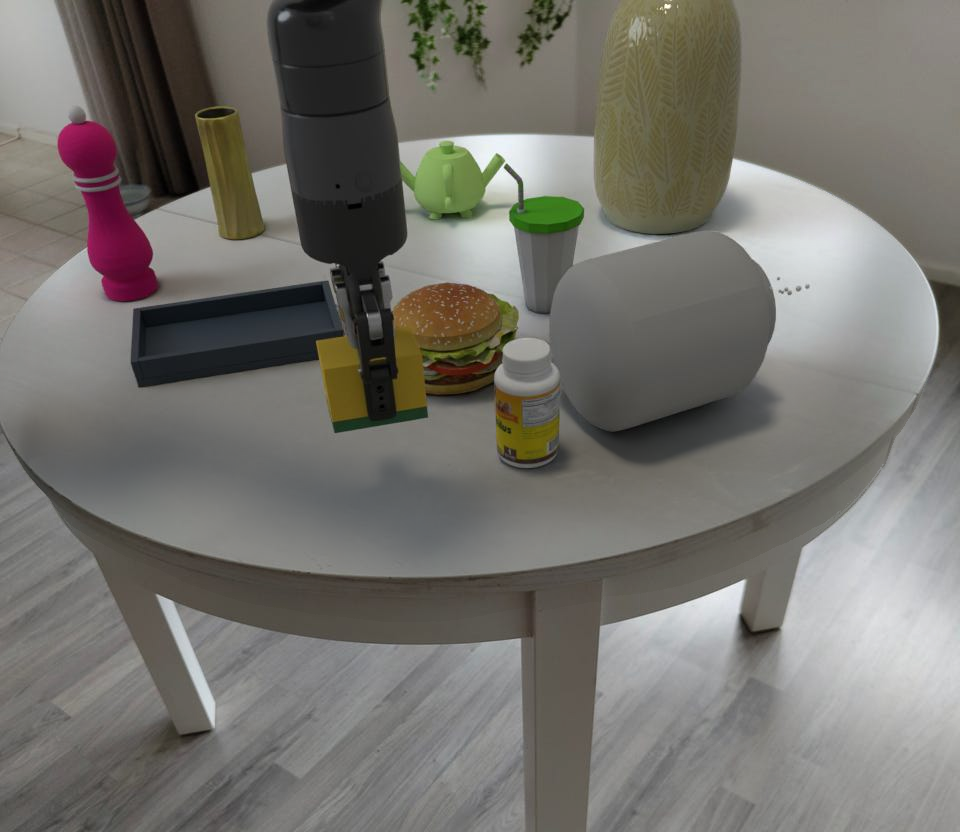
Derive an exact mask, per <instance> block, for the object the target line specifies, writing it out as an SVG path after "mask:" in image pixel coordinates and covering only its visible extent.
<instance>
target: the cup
mask: <svg viewBox="0 0 960 832" xmlns="http://www.w3.org/2000/svg"><path fill="white" fill-rule="evenodd" d="M503 169H504V170H505V171H506V172H507V173H508V174H509V175H510V176H511V177H512V178H513V179H514V180H515V181H516V183H517V184H516V185H517V202H516V203H514V204H513V205H512V206H511V208H510V210H509V211H508V220H509V222H510V223H511V225H512V226H513V227H514V228H513V230H514V236H515V243H516V250H517V255H518V256H517V257H518V262H519V270H520V276H521V281H522V282H521V283H522V287H523V296H524V303H525V307H526V308H527V309H528V310H529V311H531V312H533V313H535V314H544V315H545V314H546V315H547V314H550V312H551V306H552V301H553V297H554V293H555V290H556V288H557V285H558V283H559V282H560V280H561V279H562V277H563V276H564V275H565V273H566V272H567V271H568V269H569V268H571V267H572V266H574V261H575V253H576V249H577V240H578V235H579V228H580V225H581V224H582V222H583V220H584V218H585V207H584V206H583V205H582V204H581V203H580V202H579V201H578V200H575V199H571V198H568V197H564V196H551V195H549V196H548V195H543V196H535V197H530V198H524V197H525V195H524V191H525V190H524V181H523V179H522V177H521V176H520V175H519V174H518V173H517V172H516V171H515V169H513V167H511V165H509V163H507V162H505V163H504V166H503Z"/></svg>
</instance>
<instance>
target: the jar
mask: <svg viewBox="0 0 960 832" xmlns="http://www.w3.org/2000/svg"><path fill="white" fill-rule="evenodd" d="M776 280H777V281H780V280H781V277H780V276H777V277H776ZM804 288H805V289H806V290H807V289H810V288H811V286H810V284H809V283H806V284H805V286H804ZM795 291H796V292H801V291H802V286H801V285H797V286H796V287H795ZM785 292H787V293H786V294H787V295H788V296H791V295H793V291H792V290H791V289H789V287H787V286H785V288H784V290H782V289H778V293H779V294H782V295H784V294H785ZM776 321H777V307H776V297H775V293H774V289H773V286H772V284H771V281H770V279H769V277H768V275H767V273H766V272H765V270H764V268H762V266H761V265H760V264H759V263H758V262H757V261H756V260H755V259H753V258H752V256H750V254H749V252H748V251H746V248H744V247H743V246H742V245H741V244H739V242H737V241H736V240H735V239H734V238H731V237H730V236H728V235H726V234H724V233H722V232H720V231H715V230H699V231H694V232H690V233H687V234H682V235H679V236H675V237H674V236H673V237H671V238H670V237H669V238H666V239H663V240H658V241H655V242H652V243H651V242H650V243H647V244H643V245H639V246H635V247H631V248H627V249H624V250H619V251H615V252H612V253H608V254H604V255H600V256H596V257H593V258H588V259H585V260H582V261H580V262H577V263H575V264H573V266H572V267H571V268H569V269H568V271H567V272H566V273H565V275H564V276H563V277H562V279H561V280H560V282H559V283H558V285H557V288H556V290H555V293H554V297H553V301H552V306H551V312H550V313H549V322H548V324H549V325H548V327H549V328H548V329H549V331H548V332H549V343H550V352H551V356H552V361H553V364H554V365H555V366H556V367H557V368H558V370H559V373H560V386H561V387H562V389H563V391H564V394H565V395H566V397H567V399H568V400H569V402H570V403H571V405H572V406H573V407H574V408H575V410H576V411H577V412H578V413H579V414H580V416H581V417H582V418H583V419H584V420H585V421H587V422H588V423H589V424H590V425H592V426H594V427H596V428H598V429H600V430H603V431H606V432H619V431H624V430H628V429H631V428H635V427H636V426H638V427H639V426H641V425H644V424H647V423H650V422H653V421H657V420H659V419H663V418H666V417H669V416H672V415H675V414H679V413H681V412H685V411H687V410H688V411H689V410H692V409H694V408H698V407H701V406H704V405H706V404H711V403H713V402H716V401H719V400H722V399H726V398H729V397H732V396H734V395H736V394H738V393H739V392H741V391H743V390H744V389H745V388H747V387H748V386H749V385H750V383H751V382H752V381H753V380H754V379H755V377H756V376H757V374H758V373H759V371H760V368H761V367H762V364H763V363H764V360H765V356H766V354H767V350H768V346H769V344H770V342H771V341H772V338H773V335H774V332H775V327H776Z"/></svg>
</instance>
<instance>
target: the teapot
mask: <svg viewBox="0 0 960 832" xmlns="http://www.w3.org/2000/svg"><path fill="white" fill-rule="evenodd" d="M438 145H439V146H436V147H433V148H431V149H429V150H427V151H426V152H425V154H424V155H423V157H422V158H421V161H420V164H419V165H418V168H417V170H416V172H415V175H414V174H413V173H412V172H411V171H410V170H409V169H408V168H407V166H406V165H405V164H404V163H403V162H402V161H401V160H400V164H401V174H402V183H404V184H405V185H406V186H407V187H408V188H409V189H410V190H411V191H412V192H413V196H414V199H415V201H416V202H417V203H418V204H419V205H420V206H421V207H422V208H423V209H424V210H426V211H427V212H430V214H429V216H428V218H429V219H431V220H440V219H442V218H443V214H454V213H459V216H460V217H461V218H471V217H473V216H474V214H473V212H472V210H471V209H474V208H475V207H477V205H479V204H480V202H481V201H482V199H483V198H484V196H485V194H486V188H487V186H488V185H489V184H490V183H491V181H492V179H493V178H494V177H495V176H496V175H497V173H498V172H499V170H500V169H501V168H502V166H503V165H505V163H506V159H505V158H504V157H503V156H502V155H501V154H499V153H497V152H496V153H495V154H494V155H493V157H492V158H491V160H490V161H489V162H488V164H487V166H486V167H485V168H484V170H483V171H482V169H481V168H480V165H479V164H478V162H477V161H476V159H475V158H474V156H473V154H472V153H471V151H470V150H469V149H467V148H466V147H465V146H464V147H463V146H460V145H455V142H454V141H453V140H452V141H451V140H443V141H440V142H439V143H438Z"/></svg>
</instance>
